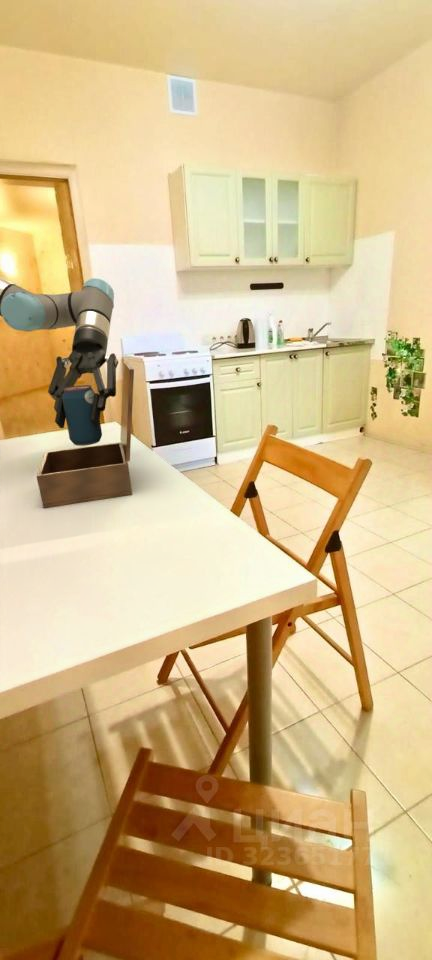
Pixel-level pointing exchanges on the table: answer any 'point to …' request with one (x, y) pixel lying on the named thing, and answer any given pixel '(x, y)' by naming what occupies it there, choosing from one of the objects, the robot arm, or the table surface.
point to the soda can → (80, 415)
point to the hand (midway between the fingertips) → (76, 423)
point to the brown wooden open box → (83, 475)
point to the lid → (127, 409)
